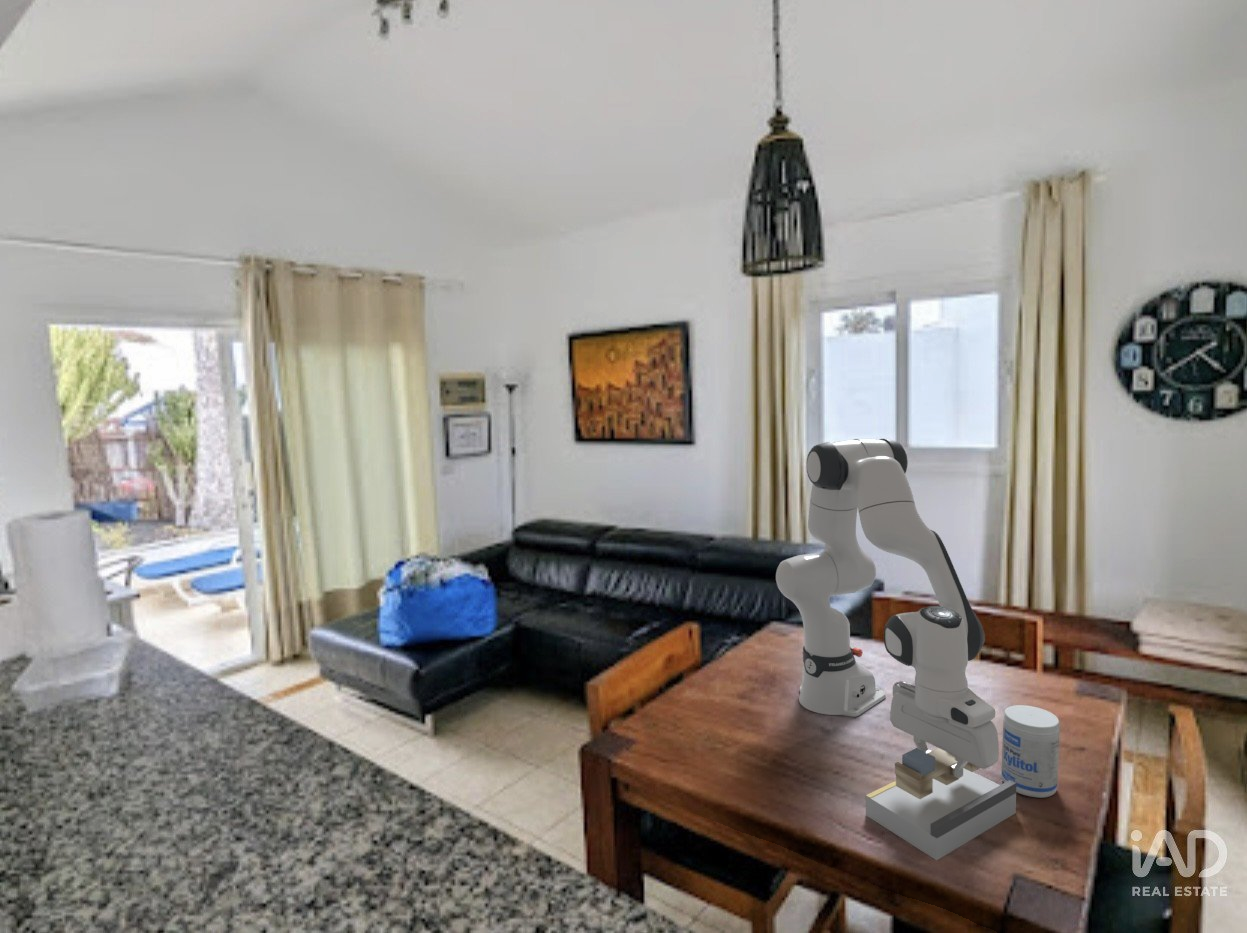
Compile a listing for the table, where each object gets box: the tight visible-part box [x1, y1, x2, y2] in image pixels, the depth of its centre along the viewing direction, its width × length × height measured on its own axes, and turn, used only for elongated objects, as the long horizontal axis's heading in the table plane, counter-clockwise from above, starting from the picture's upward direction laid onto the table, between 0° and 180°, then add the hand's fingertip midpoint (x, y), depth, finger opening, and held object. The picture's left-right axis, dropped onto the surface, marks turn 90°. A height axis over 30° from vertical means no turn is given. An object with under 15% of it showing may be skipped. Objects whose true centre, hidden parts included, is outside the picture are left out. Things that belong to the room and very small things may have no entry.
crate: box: [901, 747, 935, 776], centre depth 125 cm, size 4×4×2 cm
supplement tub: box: [1000, 704, 1061, 799], centre depth 136 cm, size 10×10×15 cm
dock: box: [865, 768, 1017, 861], centre depth 129 cm, size 23×15×6 cm, turn 120°
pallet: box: [894, 747, 981, 799], centre depth 128 cm, size 19×5×4 cm, turn 120°
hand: (940, 767), depth 128 cm, fingers closed on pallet, 5 cm apart
